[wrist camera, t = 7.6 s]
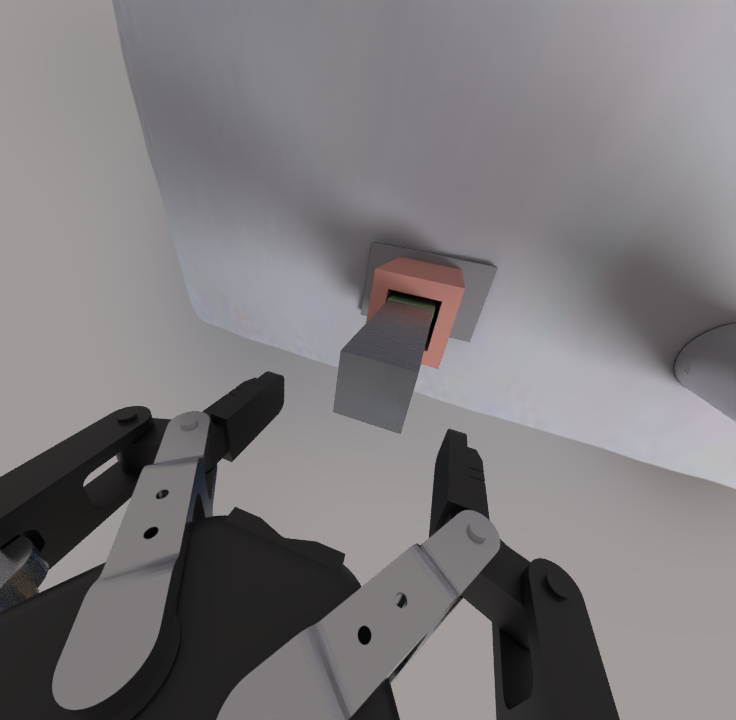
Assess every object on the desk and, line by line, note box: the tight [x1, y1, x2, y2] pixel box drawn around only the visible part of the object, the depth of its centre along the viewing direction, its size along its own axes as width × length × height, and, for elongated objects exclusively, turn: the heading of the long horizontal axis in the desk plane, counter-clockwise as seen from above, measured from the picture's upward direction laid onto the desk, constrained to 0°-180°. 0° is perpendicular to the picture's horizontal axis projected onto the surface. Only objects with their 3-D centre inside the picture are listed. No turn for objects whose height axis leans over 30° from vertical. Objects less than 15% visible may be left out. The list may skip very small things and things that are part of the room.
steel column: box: [333, 291, 436, 434], centre depth 22 cm, size 4×4×18 cm
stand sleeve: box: [361, 242, 497, 368], centre depth 31 cm, size 16×10×15 cm, turn 80°
